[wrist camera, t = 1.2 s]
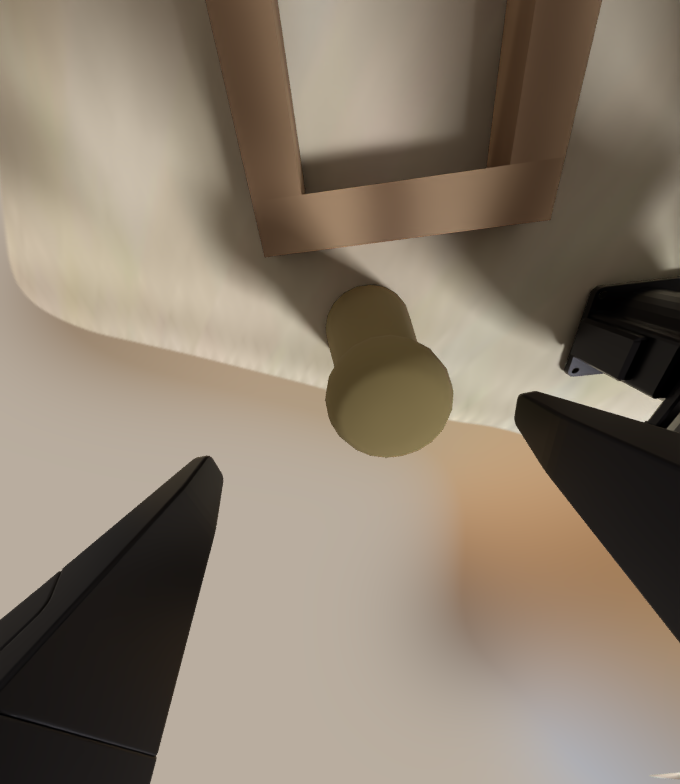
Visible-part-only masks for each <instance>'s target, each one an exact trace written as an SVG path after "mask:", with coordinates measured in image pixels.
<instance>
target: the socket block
mask: <svg viewBox="0 0 680 784" xmlns="http://www.w3.org/2000/svg"><path fill="white" fill-rule="evenodd" d="M205 1H206V5H207V9H208V14H209V18H210V22H211V27H212V31H213V35H214V40H215V44H216V48H217V53H218V57H219V61H220V66H221V70H222V74H223V79H224V83H225V87H226V92H227V96H228V100H229V105H230V109H231V113H232V118H233V122H234V126H235V131H236V135H237V139H238V144H239V148H240V152H241V157H242V161H243V165H244V170H245V174H246V178H247V183H248V187H249V191H250V196H251V200H252V204H253V209H254V213H255V217H256V222H257V226H258V230H259V235H260V239H261V243H262V248H263V252H264V256H265V257H271V256H278V255H286V254H294V253H301V252H309V251H317V250H324V249H332V248H339V247H347V246H355V245H362V244H370V243H378V242H385V241H393V240H401V239H408V238H416V237H423V236H431V235H439V234H446V233H454V232H462V231H469V230H477V229H484V228H492V227H500V226H507V225H515V224H523V223H530V222H538V221H546V220H551V215H552V211H553V207H554V203H555V198H556V194H557V190H558V186H559V181H560V177H561V173H562V169H563V164H564V160H565V156H566V152H567V147H568V143H569V139H570V135H571V130H572V126H573V122H574V118H575V113H576V109H577V105H578V101H579V96H580V92H581V88H582V84H583V79H584V75H585V71H586V67H587V62H588V58H589V54H590V49H591V45H592V41H593V37H594V32H595V28H596V24H597V20H598V15H599V11H600V7H601V3H602V0H507V6H506V14H505V22H504V30H503V38H502V46H501V54H500V62H499V70H498V79H497V87H496V95H495V103H494V111H493V119H492V127H491V135H490V143H489V151H488V159H487V167H486V168H484V169H478V170H471V171H464V172H457V173H450V174H443V175H436V176H429V177H422V178H415V179H408V180H401V181H394V182H387V183H380V184H373V185H366V186H359V187H352V188H345V189H338V190H331V191H324V192H317V193H310V194H306V192H305V185H304V178H303V171H302V165H301V158H300V151H299V144H298V137H297V130H296V124H295V117H294V110H293V103H292V96H291V89H290V83H289V76H288V69H287V62H286V55H285V48H284V41H283V35H282V28H281V21H280V14H279V7H278V0H205Z"/></svg>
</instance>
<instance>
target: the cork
mask: <svg viewBox="0 0 680 784" xmlns="http://www.w3.org/2000/svg"><path fill="white" fill-rule="evenodd" d="M326 334H327V340H328V344H329V348H330V352H331V355H332V359H333V363H334V369H333V370H332V372H331V374H330V376H329V380H328V385H327V391H326V399H325V401H326V406H327V411H328V416H329V419H330V421H331V424H332V425H333V427H334V428H335V430H336V432H337V433H338V435H339V436H340V437H341V438H342V439H343V440H345V441H346V442H347V443H348V444H350V445H351V446H352V447H353V448H355V449H356V450H358V451H361V452H363V453H366V454H368V455H370V456H378V457H385V458H387V457H396V456H403V455H407V454H409V453H413V452H415V451H418V450H420V449H421V448H423V447H424V446H426V445H427V444H429V443H431V442H432V441H433V440H434V439H435V438H436V437H437V436H438V434H440V432H441V431H442V430H443V428H444V426H445V424H446V422H447V420H448V418H449V415H450V413H451V411H452V403H453V388H452V384H451V381H450V378H449V375H448V371H447V369H446V367H445V366H444V365H443V364H442V362H441V361H440V360H439V359H438V358H437V357H436V355H435V354H434V353H433V352H432V351H431V349H429V348H428V347H426V346H424V345H422V344H420V343H418V342H417V339H416V336H415V333H414V329H413V326H412V323H411V319H410V316H409V313H408V311H407V308H406V305H405V304H404V302H403V301H402V300H401V299H400V297H399V296H398V295H397V294H396V293H394V292H392V291H390V290H389V289H387V288H385V287H381V286H376V285H365V286H358V287H355V288H353V289H351V290H349V291H347V292H345V293H344V294H343V295H342V296H341V297H340V298H339V299H338V300H337V301H336V302H335V303H334V304H333V306H332V308H331V310H330V312H329V314H328V316H327V323H326Z"/></svg>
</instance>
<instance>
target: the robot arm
mask: <svg viewBox="0 0 680 784" xmlns="http://www.w3.org/2000/svg"><path fill="white" fill-rule="evenodd" d="M601 292H602V294H601V295H600V296H599V294H600V293H601ZM598 296H599V297H598ZM574 368H575V369H574ZM573 369H574V370H573ZM572 370H573V371H572ZM565 373H566V374H568V375H570V376H583V375H593V374H603V373H604V374H606V375H608V376H610V377H612V378H614V379H616V380H617V381H622V382H624V383H626V384H627V385H629V386H631V387H633V388H635V389H637V390H639V391H640V392H642V393H644V394H646V395H648V396H650V397H652V398H655V399H657V398H658V399H660V400H662V401H663V402H662V403H661V404H660V406H659V407H658V408H657V410H656V411H655V412H654V414H653V415H652V416H651V418H650V419H649V420H648V421H645V422H640V421H637V420H633V419H630V418H627V417H623V416H620V415H616V414H613V413H609V412H606V411H603V410H599V409H596V408H592V407H589V406H585V405H582V404H579V403H575V402H572V401H568V400H565V399H561V398H558V397H555V396H551V395H548V394H544V393H541V392H537V391H532V392H527V393H522V394H520V395H519V396H518V399H517V404H516V410H515V416H514V419H515V424H516V426H517V428H518V429H519V431H520V432H521V434H522V435H523V437H524V439H525V440H526V442H527V443H528V445H529V447H530V448H531V450H532V451H533V453H534V454H535V456H536V458H537V459H538V461H539V463H540V464H541V465H542V467H543V469H544V470H545V471H546V473H547V474H548V475H549V477H550V478H551V479H552V481H553V482H554V483H555V485H556V486H557V487H558V488H559V490H560V491H561V492H562V494H563V495H564V496H565V497H566V498H567V500H568V501H569V502H570V504H571V505H572V506H573V507H574V509H575V510H576V511H577V513H578V514H579V515H580V516H581V518H582V519H583V520H584V521H585V523H586V524H587V525H588V527H589V528H590V529H591V530H592V532H593V533H594V534H595V535H596V537H597V538H598V539H599V540H600V542H601V543H602V544H603V546H604V547H605V548H606V549H607V551H608V552H609V553H610V554H611V556H612V557H613V558H614V560H615V561H616V562H617V563H618V564H619V566H620V567H621V568H622V570H623V571H624V572H625V574H626V575H627V576H628V577H629V579H630V580H631V581H632V582H633V584H634V585H635V586H636V588H637V589H638V590H639V591H640V593H641V594H642V595H643V596H644V598H645V599H646V600H647V602H648V603H649V604H650V605H651V606H652V608H653V609H654V611H655V612H656V613H657V614H658V615H659V617H660V618H661V619H662V620H663V622H664V623H665V625H666V626H667V627H668V628H669V630H670V631H671V632H672V633H673V635H674V636H675V637H676V639H677V640H678V641H679V642H680V276H679V277H670V278H662V279H653V280H644V281H636V282H627V283H619V284H610V285H601V286H597V287H596V288H594V289H593V290H592V291H591V293H590V295H589V298H588V301H587V304H586V307H585V310H584V313H583V316H582V319H581V322H580V325H579V328H578V331H577V334H576V337H575V340H574V343H573V346H572V349H571V352H570V355H569V358H568V361H567V364H566V367H565ZM222 486H223V476H222V473H221V471H220V470H219V468H218V466H217V465H216V463H215V462H214V460H213V458H212V457H210V456H202V457H197V458H195V459H193V460H192V461H191V462H189V463H188V464H187V465H186V466H185V467H183V468H182V469H181V470H180V471H179V472H177V473H176V474H175V475H174V476H173V477H172V478H170V479H169V480H168V481H167V482H166V483H164V484H163V485H162V486H161V487H160V488H158V489H157V490H156V491H155V492H154V493H153V494H151V495H150V496H149V497H148V498H146V499H145V500H144V501H143V502H142V503H140V504H139V505H138V506H137V507H136V508H134V509H133V510H132V511H131V512H130V513H128V514H127V515H126V516H125V517H124V518H122V519H121V520H120V521H119V522H118V523H116V524H115V525H114V526H113V527H112V528H110V529H109V530H108V531H107V532H106V533H105V534H103V535H102V536H101V537H100V538H99V539H97V540H96V541H95V542H94V543H93V544H91V545H90V546H89V547H88V548H87V549H85V550H84V551H83V552H82V553H81V554H79V555H78V556H77V557H76V558H75V559H73V560H72V561H71V562H70V563H69V564H67V565H66V566H65V567H64V568H63V569H62V571H59V572H58V573H56V574H55V575H54V576H53V577H52V578H50V579H49V580H48V581H47V582H46V583H45V584H43V585H42V586H41V587H40V588H39V589H37V590H36V591H35V592H34V593H32V594H31V595H30V596H29V597H28V598H26V599H25V600H24V601H23V602H21V603H20V604H19V605H18V606H17V607H15V608H14V609H13V610H12V611H11V612H9V613H8V614H7V615H6V616H4V617H3V618H2V619H1V620H0V784H150V781H151V778H152V774H153V770H154V766H155V762H156V755H157V753H158V750H159V746H160V742H161V738H162V734H163V731H164V727H165V723H166V719H167V715H168V711H169V708H170V704H171V700H172V696H173V692H174V688H175V685H176V681H177V677H178V673H179V669H180V666H181V662H182V658H183V654H184V650H185V646H186V642H187V639H188V635H189V631H190V627H191V623H192V620H193V616H194V612H195V608H196V604H197V600H198V597H199V593H200V589H201V585H202V581H203V577H204V573H205V570H206V566H207V562H208V558H209V554H210V551H211V547H212V543H213V539H214V534H215V530H216V525H217V519H218V512H219V506H220V499H221V493H222Z"/></svg>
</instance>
